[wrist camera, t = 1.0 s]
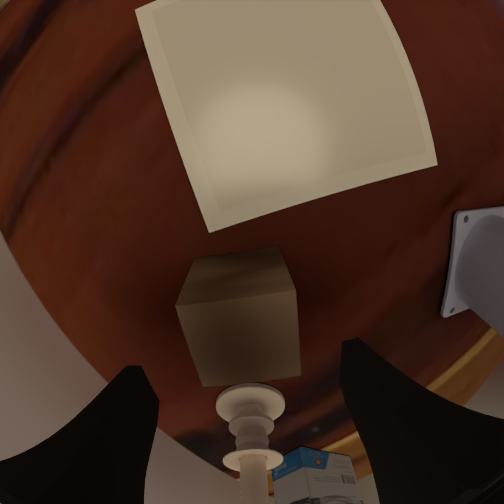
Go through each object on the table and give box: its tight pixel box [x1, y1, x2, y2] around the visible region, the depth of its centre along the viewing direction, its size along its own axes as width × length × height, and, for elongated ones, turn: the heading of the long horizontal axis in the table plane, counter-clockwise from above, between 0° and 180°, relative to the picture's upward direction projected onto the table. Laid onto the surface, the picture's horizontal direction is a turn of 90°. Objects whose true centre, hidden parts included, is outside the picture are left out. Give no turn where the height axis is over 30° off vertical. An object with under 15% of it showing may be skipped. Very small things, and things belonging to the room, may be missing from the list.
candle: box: [216, 383, 285, 504], centre depth 14 cm, size 5×5×10 cm
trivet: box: [135, 0, 437, 233], centre depth 10 cm, size 12×12×2 cm
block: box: [175, 246, 301, 387], centre depth 13 cm, size 4×4×5 cm
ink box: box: [272, 447, 363, 504], centre depth 18 cm, size 8×5×12 cm, turn 51°
